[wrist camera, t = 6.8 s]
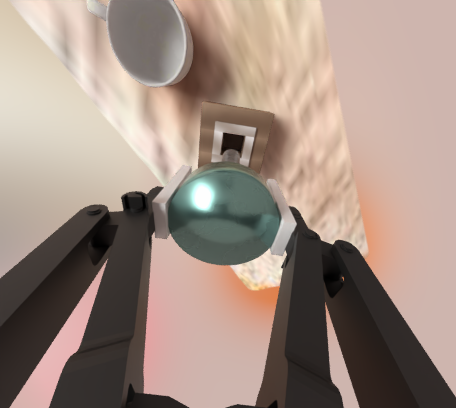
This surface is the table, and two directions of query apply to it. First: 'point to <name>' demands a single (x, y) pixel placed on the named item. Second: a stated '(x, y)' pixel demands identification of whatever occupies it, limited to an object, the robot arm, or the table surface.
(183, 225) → the teal rounded knob
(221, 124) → the block
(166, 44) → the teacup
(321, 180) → the table surface
